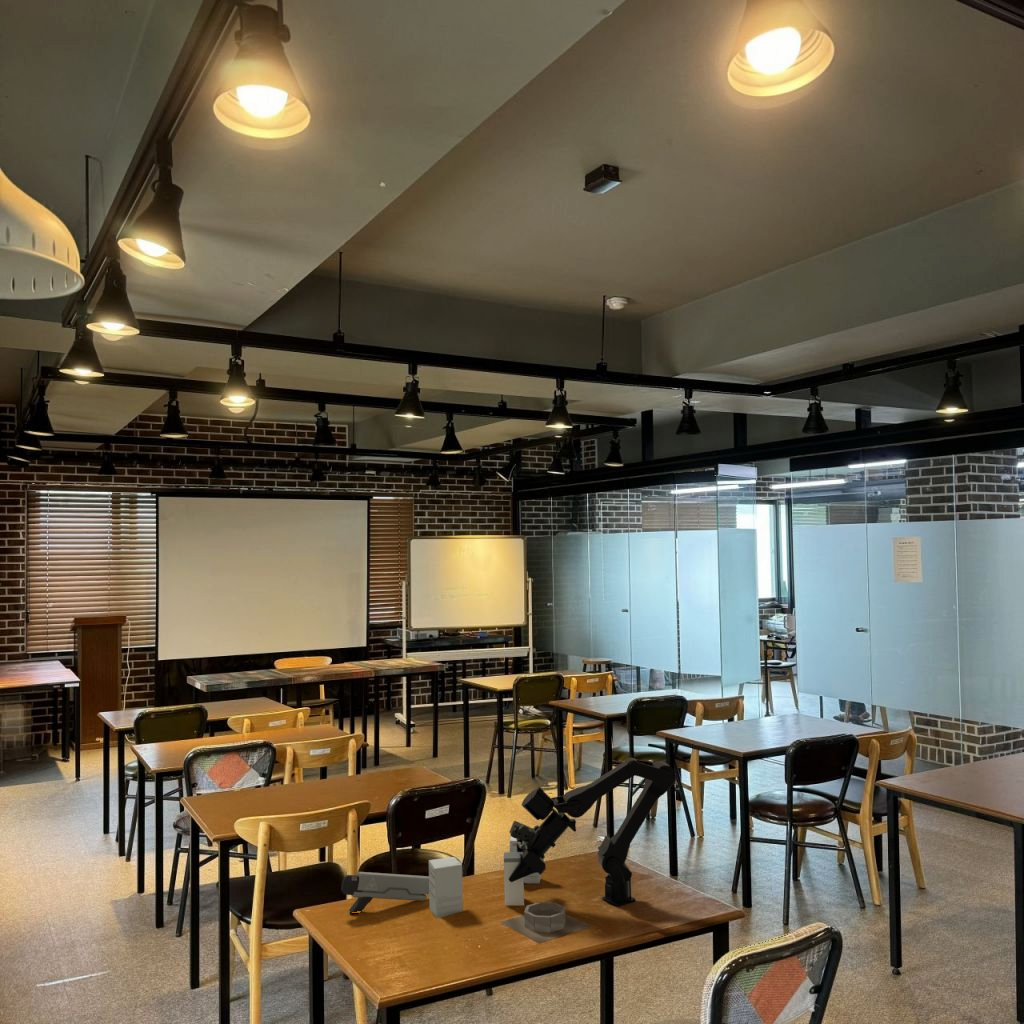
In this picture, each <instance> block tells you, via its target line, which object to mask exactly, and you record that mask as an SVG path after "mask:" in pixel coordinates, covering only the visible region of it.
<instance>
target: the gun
mask: <svg viewBox="0 0 1024 1024" xmlns="http://www.w3.org/2000/svg"><path fill="white" fill-rule="evenodd" d="M340 890H341V893H342V894H343V895H346V896H351V897H352V898H356V900H355V902H354V903H353V904H352V905H351V906H350V908H349V909H348V912H349V911H350V912H351V913H352V912H357V911H362V910H363V911H364V910H365V909H366V907H367V905H368V904H369V903H371V901H372V900H373V899H378V900H379V899H385V900H399V901H402V900H403V901H419V902H425V901H426V900H427V897H428V896H427V895H429V875H428V876H427V875H425V876H424V875H414V874H413V875H412V874H398V873H397V874H396V873H381V872H370V871H368V872H365V871H358V872H357V874H346V875H345V876H344V877H343V880H342V882H341V889H340ZM424 900H425V901H424ZM363 911H362V912H363ZM350 912H349V913H350ZM351 913H350V914H351Z"/></svg>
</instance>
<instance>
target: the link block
mask: <svg viewBox="0 0 1024 1024" xmlns="http://www.w3.org/2000/svg"><path fill="white" fill-rule="evenodd" d="M520 854H523V852H510V851H508V852H507V851H505V852H503V879H504V881H503V883H504V907H506V906H507V907H508V906H525V890H524V889H525V885H524V884H525V883H524V877H523V878H520V879H518V880H516V881H513V882H510V881H509V877H510V876H511V874H512V873H513V871H514V870H515V868H516V867H517V865H518V864H519V862H520Z"/></svg>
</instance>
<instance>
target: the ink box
mask: <svg viewBox="0 0 1024 1024" xmlns="http://www.w3.org/2000/svg"><path fill="white" fill-rule="evenodd" d="M516 843H517V844H518V845H519V844H520V843H521V842H518V841H517V840H516V838H514V837H512V836H510V837H509V852H517V850H516ZM541 875H542V874H541ZM541 875H540V874H539V873H538V872H537V873H533V874H530V875H528V876H525V877H524V884H540V882H541V879H542V877H541Z"/></svg>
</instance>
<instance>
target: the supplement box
mask: <svg viewBox="0 0 1024 1024" xmlns="http://www.w3.org/2000/svg"><path fill="white" fill-rule="evenodd" d="M428 876H429V894H428V897H429V900H428V901H429V910H430V911H431V913H432V912H433V913H432V914H433V916H434V915H435V916H434V918H435V919H436V918H437V919H440V918H441V919H442V918H444V917H447V916H451V915H454V914H455V915H456V914H458V913H461V912H463V911H464V898H463V897H464V895H463V893H464V892H463V891H464V890H463V887H464V886H463V864H462V863H461V862H460V861H459V860H458V859H457V858H456V856H452V857H451V856H450V857H444V858H443V857H442V858H436V859H429V860H428Z"/></svg>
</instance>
